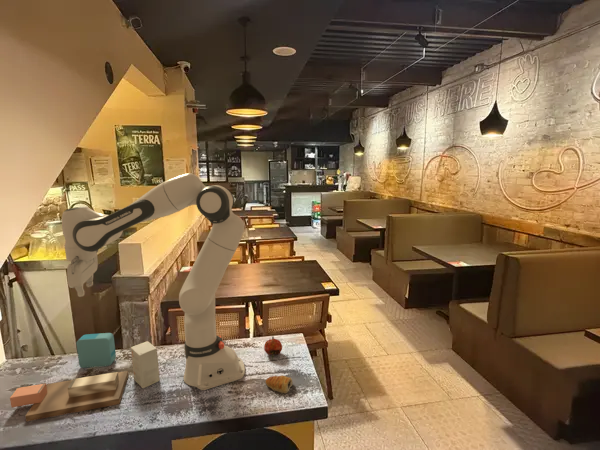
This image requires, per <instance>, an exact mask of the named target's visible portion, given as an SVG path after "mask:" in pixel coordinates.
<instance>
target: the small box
mask: <svg viewBox="0 0 600 450" xmlns="http://www.w3.org/2000/svg"><path fill="white" fill-rule="evenodd" d="M130 350H131V351H130V352H131V362H132V373H133V380H134V381H135V382H136V383H137V384H138V385H139V386H140V388H142V389H146V388H148V387H149V386H151V385H153V384H156V383H157V382H159V381H160V379H161V378H160V377H161V376H160V369H159V368H160V367H159V358H158V356H159V355H158V349H157V347H156V346H154V345H153V344H152V343H151V342H149V340H146V341H145V342H141V343H139V344H136V345H134V346H131V347H130Z"/></svg>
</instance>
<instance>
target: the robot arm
mask: <svg viewBox="0 0 600 450" xmlns="http://www.w3.org/2000/svg"><path fill="white" fill-rule="evenodd" d="M202 181H203V180H201V179H200V177H199V176H198V175H196V174H195V173H191V172H188V173H184V174H180V175H177V176H175V177H172V178H170V179H167V180H165V181H163V182H161V183H159V184H158V185H156V186H154V187H153V188H151V189H150V190H149V191H147V192H146V193H144V194H143V195H141V196H140V197H139V198H138V199H136V200H134V201H133V202H132V203H130V204H128V205H127V206H124V207H123V208H121V209H119V210H117V211H115V212H112V213H111V214H104V213H101V212H98V211H95V210H94V209H91V208H90V207H89V206H85V205H83V206H82V205H81V206H78V207H76V206H75V207H71V208H67V209H66V210H64V211H63V212H62V215H61V229H62V235H63V237H64V240H65V241H64V242H65V243H64V251H65V258H66V259H65V260H66V261H68V262H70V263H69V264H68V265H67V268H66V275H67V277H66V279H67V285H68V287H69V288H70V289H71V288H72V289H75V291H76V293H77V297H79V298H81V297H84V296H85V295H86V290H85V289H84V284H85V283H86V285H85V286H86V287H87V288H91V287H93V286H94V281H93V280H94V274H95V273H96V272H97V270H98V266H99V264H98V261H99V259H98V252H99V250H100V249H102V248H103V247H105V246H107V245H109V244H111V243H113V242H115V241H117V240H119V238H121V237H122V235H123V233H124V231H125V230H128V229H129V228H131V227H134V226H136V225H138V224H140V223H144V222H149V221H152V220H156V219H157V220H158V219H159V218H164V217H168V216H170V215H173V214H176V213H178V212H180V211H182V210H184V209H186V208H188V207H191V206H196V209H197V210H198V211H199V212H200V214H202V216H203V217H204V218H206V219H207V220H208V221H209V222H210V223H212V226H211V229H210V231H209V233H208V235H207V237H206V239H205V240H204V242H203V244H202V247H201V249H200V250H199V252H198V254H197V256H196V259H195V261H194V262H193V265H192V267H191V269H190V271H189V273H188V275H187V276H186V279H185V280H184V282H183V284H182V286H181V288H180V291H179V293H178V302H179V303H178V304H179V306H180V309H181V311H183V313H184V317H183V318H184V319H183V323H184V325H183V327H184V338H185V340H184V345H183V347H184V348H183V350H184V357H185V368H184V374H183V381H184V383H185V384H186V385H188V386H190V387H194V388H197V389H199V390H200V391H205V390H209V389H212V388H216V387H218V386H221V385H225V384H229V383H231V382H235V381H239V380H242V379H243V378H244V377H245V373H246V368H245V367H246V365H245V364H244V363H245V362H244V361H243V360H242V358H240V357H239V356H238V354H237V352H236V351H235V350H234V348H232V347H230V346H228V345H225V343H224V341H223V338H222V336H221V334H219V336H218V335H217V321H216V319H217V318H216V293H217V291H218V289H219V286H220V284H221V282H222V280H223V278H224V275H225V273H226V270H227V268H228V267H229V265H230V263H231V261H232V259H233V257H234V255H235V253H236V251H237V249H238V247H239V244H240V242H241V239H242V237H243V235H244V234H243V233H244V230H245V227H246V226H245V222H244V220H243V219H242V218H241V216H239V215H237V214H235V213H234V212H233V210H232V208H233V207H234V203H235V199H234V195H233V193H232V191H231V190H230V189H228V188H227V187H224V186H222V185H219V184H215V185H209V184H208V185H205V184H204V183H203V182H202Z"/></svg>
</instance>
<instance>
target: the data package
mask: <svg viewBox="0 0 600 450" xmlns="http://www.w3.org/2000/svg"><path fill="white" fill-rule="evenodd" d="M75 343H76V350H77V351H76V352H77V360H78V364H79V367H80V368H83V369H87V368H102V367H109V366H111V365H112V364H113V363H114V361H115V359H116V358H117V354H116V352H117V351H116V346H115V336H114V334H113V333H111V332H105V333H104V332H103V333H101V332H100V333H90V334H89V333H88V334H87V333H86V334H83V335H82V336H81V337H80V338H78V340H77V341H76V342H75Z"/></svg>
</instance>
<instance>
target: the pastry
mask: <svg viewBox="0 0 600 450" xmlns="http://www.w3.org/2000/svg"><path fill="white" fill-rule="evenodd" d="M265 384H266V386H267V387H268V388H269V389H271V390H272V391H273V392H278V393H281V394H287V393H288V392H289V391H290V389H291V387H292V386H293V379H292V378H291V377H290V376H289V377H288V376H285V375H271V376H269V377H268V378H267V379H266V380H265Z"/></svg>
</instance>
